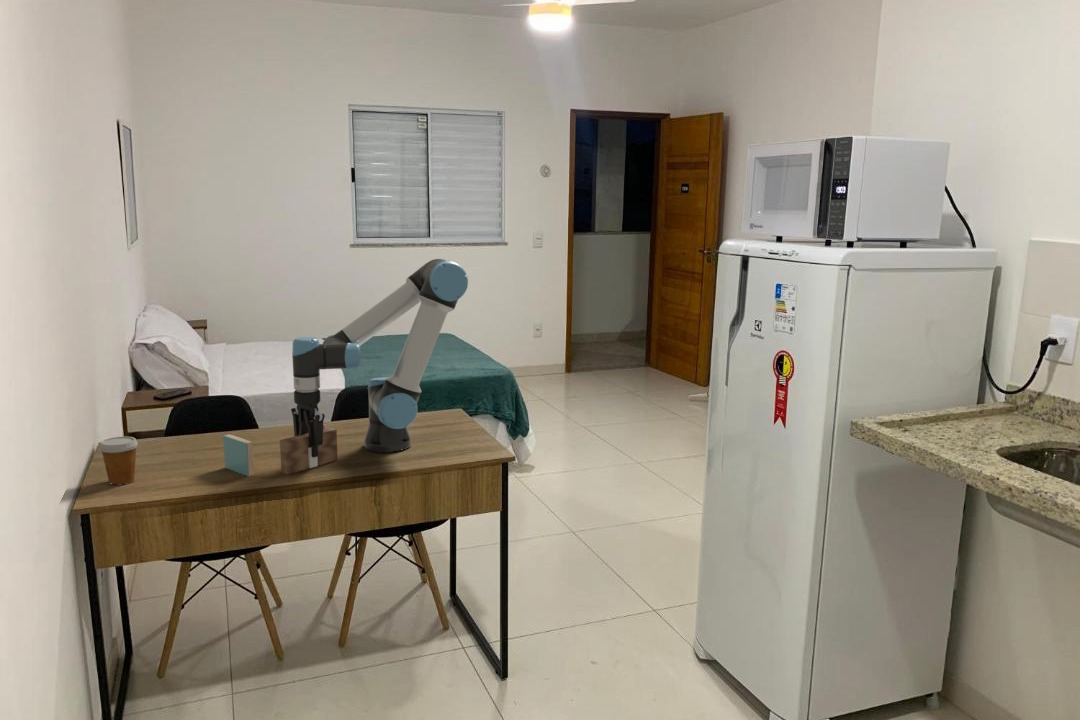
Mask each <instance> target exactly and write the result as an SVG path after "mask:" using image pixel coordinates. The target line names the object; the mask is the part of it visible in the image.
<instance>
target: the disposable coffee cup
mask: <svg viewBox="0 0 1080 720" xmlns="http://www.w3.org/2000/svg"><path fill="white" fill-rule="evenodd" d="M138 445H139V442H138V441H137V439H136V438H135V437H133V436H116V437H109V438H106V439H104V440H102V441H100V445H99V449H100V451H101V454H102V458H103V462H104V467H105V470H106V475H107V479H108V483H112V484H125V485H127V484H126V483H129V484H132V483H134V481H135V478H136V477H135V476H136V459H137V457H136V456H137V447H138Z"/></svg>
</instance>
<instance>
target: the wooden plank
mask: <svg viewBox="0 0 1080 720" xmlns="http://www.w3.org/2000/svg"><path fill="white" fill-rule="evenodd" d="M337 434H338V431H337V429H336V428H334V427H327V429H323V444H322V445H319V446H318V457H317V458H318V465H320V466H323V465H326V464H325V463H327V464H329V463H328V462H330V463H333V462H332V461H334V462H336V461H335V460H337V461H338V458H339V457H338V435H337ZM313 443H314V442H313ZM309 445H310V443H309V435H308V433H307V434H303V435H299V436H295V435H294V436H291V437H287V438H284V439H283V438H282V439H280V440H279V447H280V469H281V470H280V471H281V472H280V473H282V474H285V475H288V476H289V475H291V473H292V474H295V473H297V472H298V471H299V472H302V471H305V469H306V470H309V469H310V468H309V462H308V446H309ZM322 464H323V465H322ZM308 468H309V469H308ZM301 470H302V471H301Z"/></svg>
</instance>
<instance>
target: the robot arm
mask: <svg viewBox="0 0 1080 720" xmlns="http://www.w3.org/2000/svg"><path fill="white" fill-rule="evenodd" d="M405 280H406V281H405V283H404V284H402V285H401V286H400V287H398V288H397V289H395V290H394V291H393V292H391V293H390V294H389V295H387V296H386V297H385V298H383V299H382V300H380V301H379V302H378V303H376V304H375V305H373V306H372V307H371V308H369V309H368V310H367V311H365V312H363V314H361V315H360V316H357V318H356V319H354V320H353V321H351V322H350V323H349V324H347V325H346V326H345V327H343V328H342V329H340V330H339V331H337V332H336V333H335V334H332V335H328V336H327V337H325V339H324V340H323V341H322V343H320V341H319V339H318V337H312V336H303V337H297V338H295V339H294V340H293V341H292V353H291V354H292V356H291V357H292V374H293V375H292V376H293V389H294V391H293V402H294V404H296V407H292V408H291V409H290V411H291V415H292V421H293V423H292V424H293V431H294V433H293V434H294V436H298V435H303V434H307V433H308V435H309V443H310V445H309V446H308V462H309V469H312V468H316V467H319V466H318V458H317V457H318V446H319V445H322V444H323V423H324V421H325V413H321V412H319V407H318V404H319V403H321V390H320V388H321V376H320V371H321V370H339V369H341V370H342V369H348V370H349V369H355V368H360V365H361V362H362V357H361V356H362V355H361V346H362V345H363V344H365V343H366V342H367V341H369V340H370V339H372V338H373V337H374V336H376V335H377V334H378V333H380V332H381V331H382V330H384V329H385V328H386V327H388V326H389V325H390V324H392V323H393V322H395V321H396V320H398V319H399V318H400V317H401V316H403V315H404V314H406V313H407V312H408V311H410V310H411V309H412V308H415V306H417V305H418V304H420V305H419V308H418V310H417V313H416V315H415V318H414V320H413V323H412V325H411V328H410V330H409V333H408V335H407V339H406V341H405V342H404V346H403V347H402V351H401V353H400V356H399V357H398V361H397V363H396V366H395V368H394V371H393V373H392V375H389V376H387V377H386V376H384V377H374V378H371V379H369V380H368V383H367V385H368V386H367V390H368V427H367V430H366V434H365V436H364V439H363V440H364V442H363V444H364V445H363V446H364V447H365V448H366V449H365V448H364V449H365V450H367V451H369V450H370V452H373V451H375V452H374V453H383V452H386V453H393V452H392V451H397V452H399V451H398V450H401V449H405V448H407V447H409V446H410V445H411V446H412V439H411V436H410V432H409V429H408V426H410V425H411V424H412V423H413V422H414V421H415V420H416V419H417V416H418V401H419V399H420V396H421V394H422V392H423V391H422V388H421V387H420V383H421V380H422V378H423V376H424V373H425V370H426V369H427V366H428V363H429V361H430V358H431V356H432V353H433V350H434V348H435V345H436V343H437V340H438V338H439V335H440V333H441V330H442V328H443V325H444V323H445V320H446V317H447V316H448V314H449V313H450V312H452V311H454V310H455V308H456V306H457V303H458V301H459V299H461V298H462V297H463V296H464V295H465V293H466V292H467V289H468V285H469V279H468V275H467V273H466V271H465V269H464V268H463V267H462V266H461V265H460V264H459V263H456V262H455V261H452V260H448V259H444V258H443V259H442V258H434V259H431V260H429V261H428V262H426V263H425V264H423V265H422V266H421V267H419V268H418V269H417V270H416V271H414V272H413V273H412V274H411V275H409V276H408V277H406V279H405ZM309 421H310V422H309ZM313 442H314V443H313ZM411 446H410V447H411ZM410 447H409V448H410ZM405 450H406V449H405Z"/></svg>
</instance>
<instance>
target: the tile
mask: <svg viewBox="0 0 1080 720" xmlns="http://www.w3.org/2000/svg"><path fill="white" fill-rule="evenodd" d="M222 439H223V451H224V452H223V455H224V467H225V469H227V470H229V469H230V471H232V470H233V471H232V472H235V471H236V472H235V473H237V472H238V474H240V473H241V474H240V475H243V476H245V475H246V477H251V475H252V476H255V468H254V467H255V466H254V450H253V448H254V447H253V441H251V440H248V439H245V438H242V437H239V436H237V435H233V434H224V435H223V438H222Z"/></svg>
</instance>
